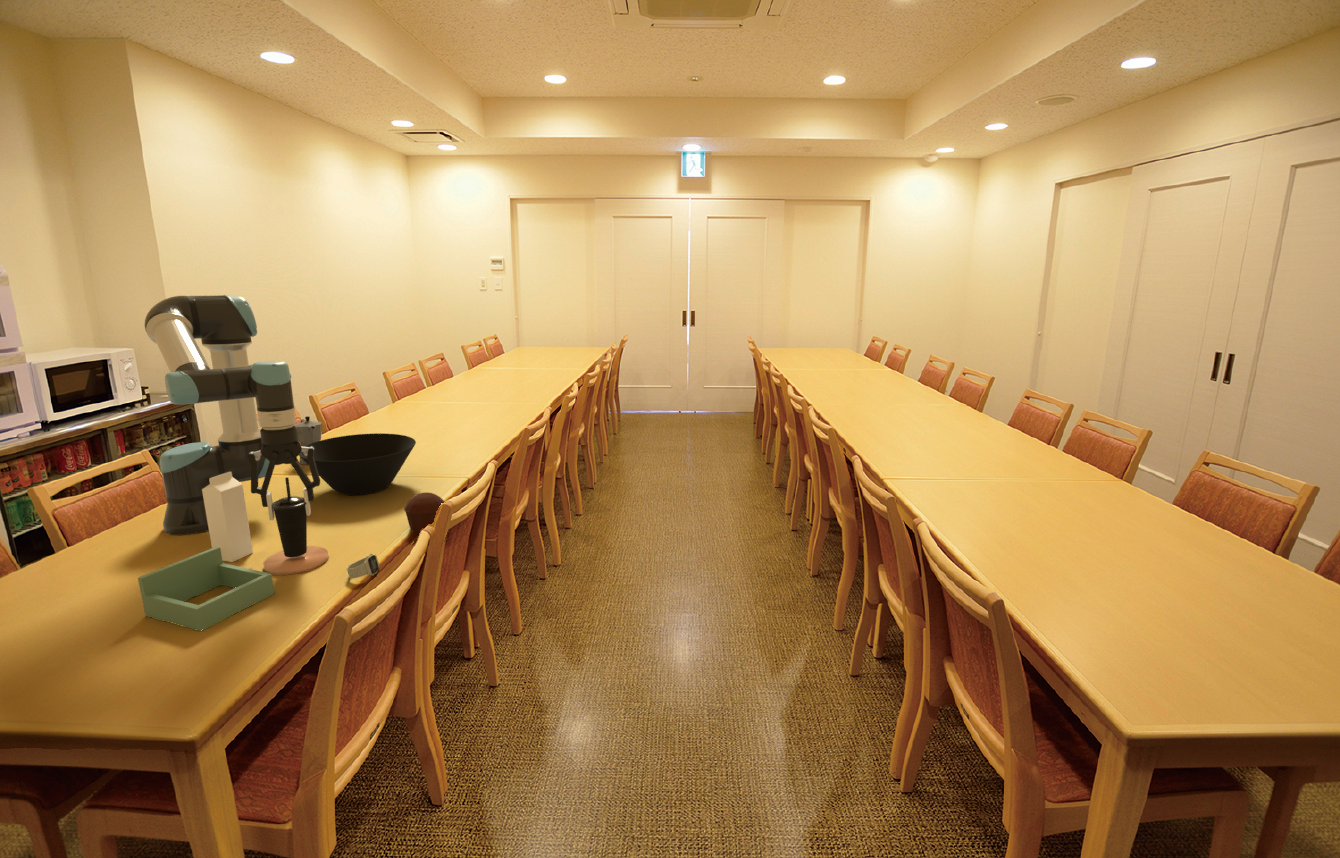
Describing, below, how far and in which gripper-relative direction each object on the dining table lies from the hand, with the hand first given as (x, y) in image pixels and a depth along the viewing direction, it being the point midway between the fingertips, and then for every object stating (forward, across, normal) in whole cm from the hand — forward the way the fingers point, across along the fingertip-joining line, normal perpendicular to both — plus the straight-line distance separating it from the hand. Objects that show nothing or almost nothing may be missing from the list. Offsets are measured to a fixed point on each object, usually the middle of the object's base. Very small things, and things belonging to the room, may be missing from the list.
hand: (290, 515), depth 153 cm
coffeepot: (+13, -2, +98) cm, 99 cm away
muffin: (+13, +32, +10) cm, 36 cm away
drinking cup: (+10, 0, 0) cm, 10 cm away
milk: (+13, -15, +10) cm, 22 cm away
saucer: (+12, 0, 0) cm, 12 cm away
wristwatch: (+13, +15, -13) cm, 24 cm away
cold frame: (+12, -15, -16) cm, 25 cm away
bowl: (+13, +16, +55) cm, 59 cm away
